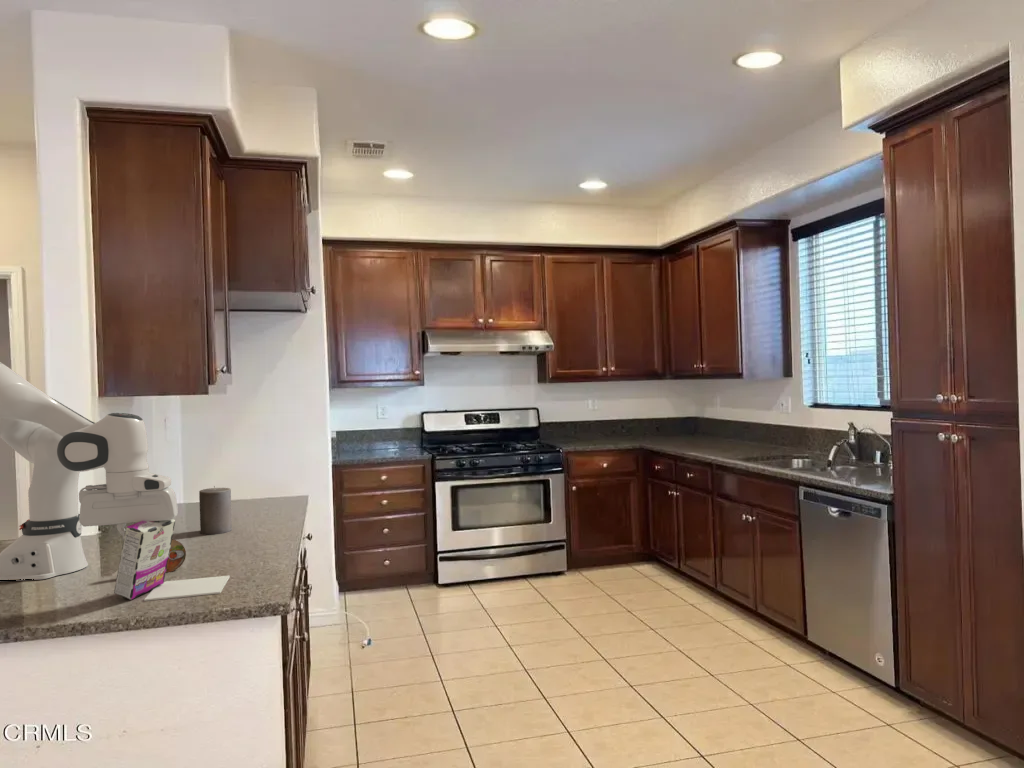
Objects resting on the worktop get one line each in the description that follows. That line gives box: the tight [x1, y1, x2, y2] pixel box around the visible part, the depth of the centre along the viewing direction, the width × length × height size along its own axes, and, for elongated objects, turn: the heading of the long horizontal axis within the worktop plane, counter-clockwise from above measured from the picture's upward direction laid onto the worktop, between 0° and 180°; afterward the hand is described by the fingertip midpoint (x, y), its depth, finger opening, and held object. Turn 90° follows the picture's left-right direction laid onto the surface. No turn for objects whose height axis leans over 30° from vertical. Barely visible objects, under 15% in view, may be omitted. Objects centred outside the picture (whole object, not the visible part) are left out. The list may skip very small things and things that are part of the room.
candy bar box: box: [113, 518, 176, 601], centre depth 164 cm, size 11×5×16 cm, turn 169°
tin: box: [165, 538, 187, 574], centre depth 182 cm, size 15×3×8 cm, turn 123°
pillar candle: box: [198, 485, 233, 536], centre depth 232 cm, size 10×10×15 cm
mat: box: [143, 574, 231, 602], centre depth 168 cm, size 16×14×1 cm
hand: (130, 542), depth 164 cm, fingers closed
